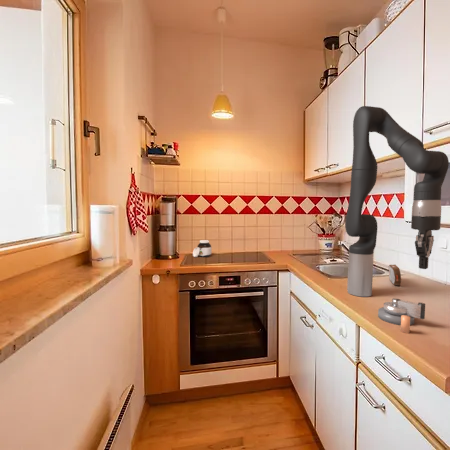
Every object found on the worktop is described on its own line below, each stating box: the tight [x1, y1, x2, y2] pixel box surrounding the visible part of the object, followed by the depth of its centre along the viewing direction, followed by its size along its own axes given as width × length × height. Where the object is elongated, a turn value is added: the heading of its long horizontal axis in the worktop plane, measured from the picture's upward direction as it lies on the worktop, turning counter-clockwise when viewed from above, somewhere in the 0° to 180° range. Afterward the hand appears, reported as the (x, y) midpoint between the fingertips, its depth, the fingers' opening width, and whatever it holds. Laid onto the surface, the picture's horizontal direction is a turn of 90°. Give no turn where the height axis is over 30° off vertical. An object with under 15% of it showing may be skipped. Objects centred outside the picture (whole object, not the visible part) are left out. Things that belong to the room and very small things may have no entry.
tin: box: [388, 264, 402, 287], centre depth 131 cm, size 15×3×8 cm, turn 158°
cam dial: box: [383, 297, 426, 320], centre depth 88 cm, size 11×7×4 cm, turn 42°
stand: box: [377, 306, 415, 334], centre depth 87 cm, size 15×10×4 cm, turn 2°
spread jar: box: [192, 239, 213, 258], centre depth 199 cm, size 12×11×12 cm
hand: (423, 268), depth 88 cm, fingers closed
